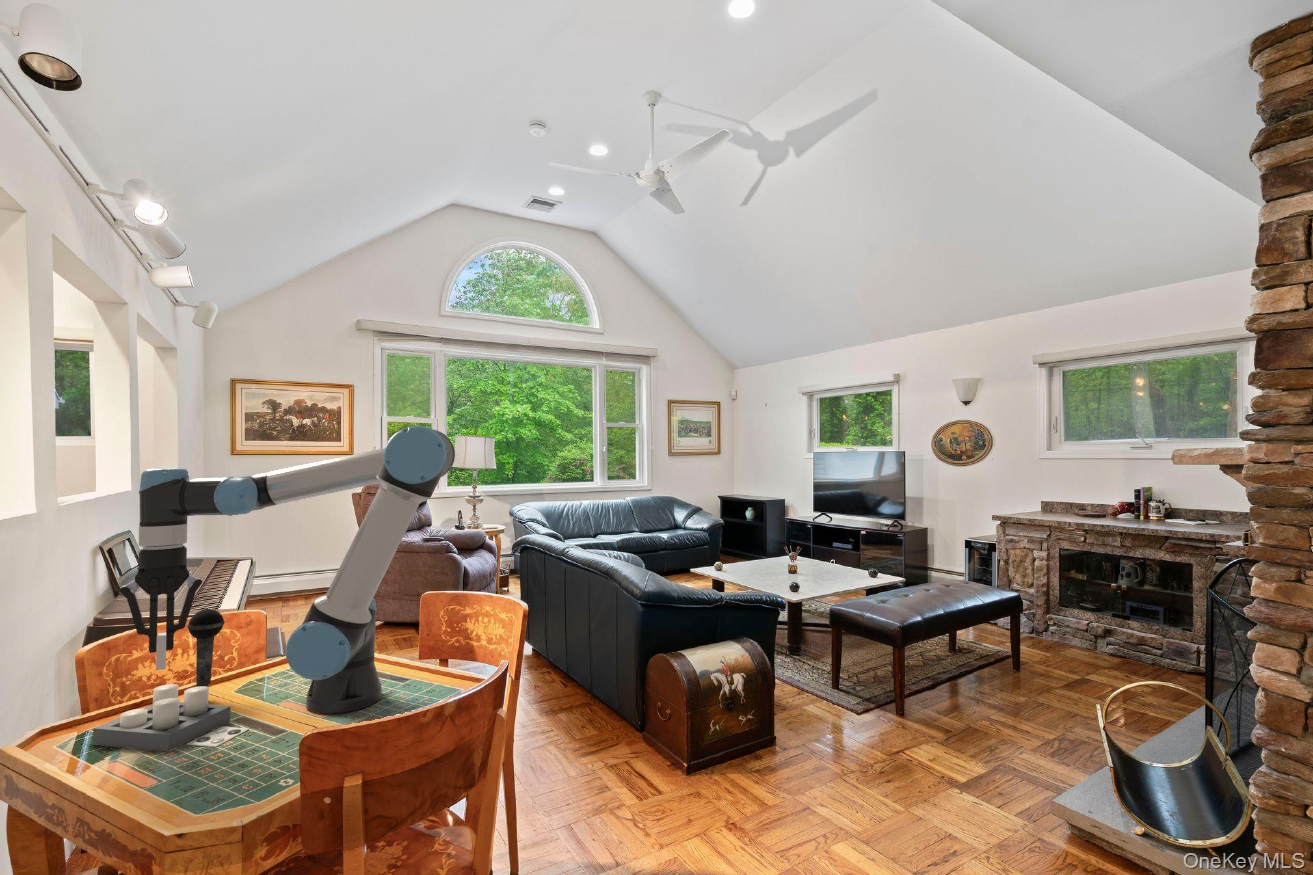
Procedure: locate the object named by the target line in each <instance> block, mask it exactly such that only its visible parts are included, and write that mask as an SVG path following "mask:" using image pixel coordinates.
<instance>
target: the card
mask: <svg viewBox="0 0 1313 875" xmlns="http://www.w3.org/2000/svg"><path fill="white" fill-rule="evenodd" d="M249 730H250V728H245V727H236V726H234V727H233V726H225V725H221V726H219V727H217V728H215V729H213V730H211V731H209V732H207V733H205V734H203V735H201V736H199V737H197V738H195V739H193V740H191V741H189V742H187V744H186V745H188V746H194V747H195V746H198V747H208V748H217V747H219V746H221V745H223V744H225V743H226V742H228V741H230V740H232V739H234V738H236V737H238V736H241V735H242V734H244V733H245V732H248V731H249Z"/></svg>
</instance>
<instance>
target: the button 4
mask: <svg viewBox="0 0 1313 875" xmlns="http://www.w3.org/2000/svg"><path fill="white" fill-rule="evenodd" d="M209 691H210V688H209V686H208V687H206V686H200V687H199V686H195V687H190V688H187V689H185V690H184V691H183V694H184V695H183V703H184V707H183V716H188V717H190V716H197V715H201V714H204V713H206V712H207V711H208V704H209Z"/></svg>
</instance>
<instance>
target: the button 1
mask: <svg viewBox="0 0 1313 875" xmlns="http://www.w3.org/2000/svg"><path fill="white" fill-rule="evenodd" d="M119 716H120V717H119V718H120V727H123V728H134V727H137V726H139V725H141V724H144V723H146V722H147V709H143V708H135V709H131V710H127V711H125V712H122V713H121V714H120V715H119Z"/></svg>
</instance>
